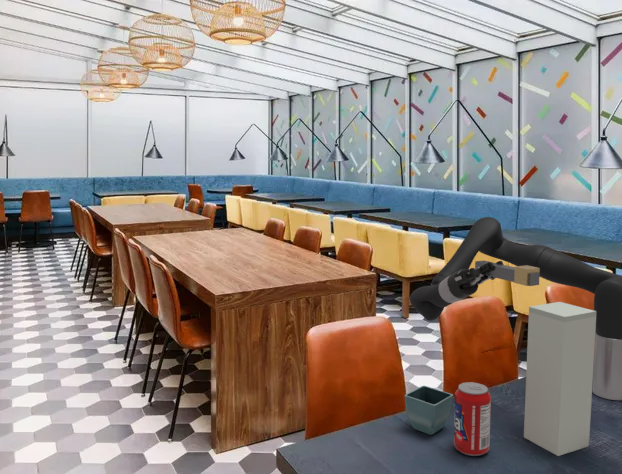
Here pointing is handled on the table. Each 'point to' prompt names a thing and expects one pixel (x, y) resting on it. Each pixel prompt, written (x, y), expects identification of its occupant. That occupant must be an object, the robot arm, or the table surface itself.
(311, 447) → the table surface
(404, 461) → the table surface
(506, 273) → the steel handle bar
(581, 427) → the sage pedestal
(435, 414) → the flower pot
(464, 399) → the soda can
